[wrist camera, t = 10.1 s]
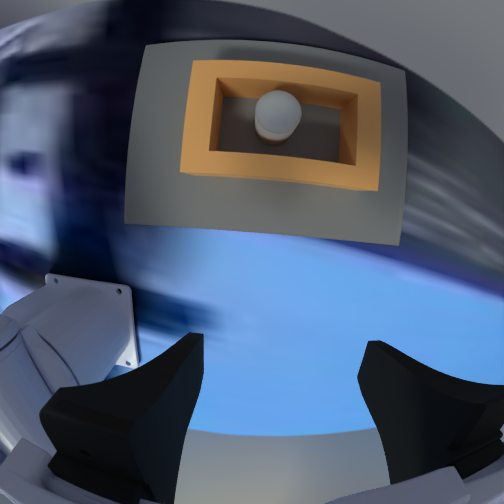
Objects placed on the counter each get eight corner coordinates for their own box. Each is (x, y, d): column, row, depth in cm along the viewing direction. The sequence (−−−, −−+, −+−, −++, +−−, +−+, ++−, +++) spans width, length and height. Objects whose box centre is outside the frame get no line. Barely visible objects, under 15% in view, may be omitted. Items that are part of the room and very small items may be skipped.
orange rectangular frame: (193, 175, 18) (179, 172, 14) (203, 81, 16) (193, 60, 13) (356, 190, 18) (377, 191, 14) (360, 98, 16) (380, 82, 13)
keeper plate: (129, 222, 19) (85, 235, 13) (150, 50, 16) (118, 13, 10) (392, 243, 19) (438, 263, 13) (399, 74, 16) (439, 46, 10)
